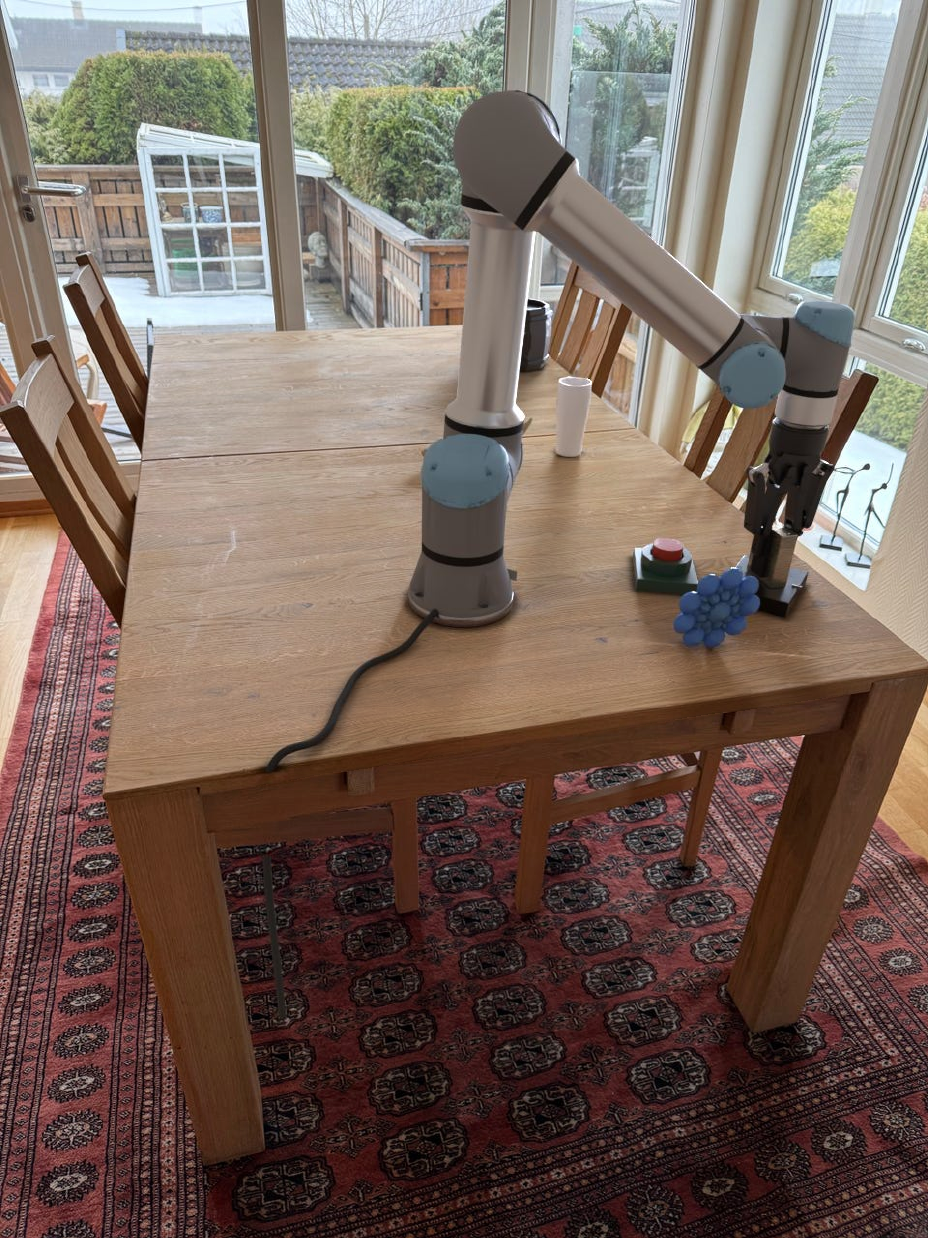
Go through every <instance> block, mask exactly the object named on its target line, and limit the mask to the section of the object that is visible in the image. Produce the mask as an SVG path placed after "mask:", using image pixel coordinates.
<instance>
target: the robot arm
mask: <svg viewBox="0 0 928 1238" xmlns="http://www.w3.org/2000/svg"><path fill="white" fill-rule="evenodd" d="M452 151H453V152H452V153H453V159H454V164H455V168H456V170H457V172H458V175H459V177H460V178H461V180H462V184H461V196H460V198H461V199H460V208H461V209H462V210H463V212H464V213H465V215H466V216H467V217H468V219H469V221H470V228H469V229H470V230H469V243H468V254H467V266H466V267H467V268H466V279H465V290H464V291H465V292H464V303H463V304H464V305H463V315H462V329H461V339H460V351H459V352H460V353H459V363H458V365H459V366H458V377H457V387H456V388H457V389H456V397H455V399H454V400H453V401H451V402H450V403H449V404H448V405H447V406H446V407H445V410H444V421H443V434H442V438H439V439H438V440H436V441H434V442H432V444H430V446H429V447H427V448H428V449H427V448H426V449H427V451H426V453H425V455H424V456H423V460H422V466H421V469H420V478H421V479H420V481H421V550H420V551H421V552H420V555H419V558H418V560H417V563H416V566H415V569H414V571H413V574H412V577H411V579H410V582H409V586H408V601H407V602H408V605H409V607H410V609H411V610H412V611H413V612H414V613H415V614H416V615H417V616H419V617H421V618H422V619H423V620H422V621H421V622H420V623H419V624H418V626H417V627H416V628H415V629H414V630H413V631H412V633H411V634H410V635H409V637H408V638H407V639H406V640H405V641H404V642H403V643H402V644H401V645H399V646H397V647H396V648H394V649H392V650H390V651H388V652H385V653H383V654H381V655H378V656H375V657H373V658H371V659H369V660H367V661H366V662H363V664H361V665H360V666H359V667H358V668H357V669H356V670H355V671H354V672H353V673H352V674H351V675H350V676H349V678H348V680H347V681H346V683H345V685H344V687H343V688H342V691H341V693H340V695H339V696H338V698H337V700H336V701H335V703H334V705H333V707H332V711H331V713H330V716H329V718H328V721H327V722H326V724H325V725H324V727H323V728H322V730H321V731H320V732H319V733H317V734H315V736H313V737H312V738H308V739H306V740H302V741H298V742H294V743H291V744H289V745H286V746H284V747H282V748H280V749H279V750H278V751H277V752H276V753H275V754H274V755H273V756H272V757H271V759H270V760H269V762H268V764H267V765H266V768H265V773H273V772H274V771H275V770H276V768H277V767H278V765H279V764H280V763H281V761H282V760H283V759H284V758H286V757H287V756H288V755H291V754H293V753H296V752H299V751H303V750H307V749H310V748H313V747H315V746H317V745H319V744H321V743H322V742H324V741H325V740H326V739H327V738H328V737H329V736H330V735H331V733H332V732H333V730H334V729H335V727H336V724H337V722H338V719H339V716H340V714H341V711H342V709H343V707H344V705H345V703H346V702H347V700H348V698H349V696H350V695H351V692H352V689H353V688H354V687H355V685H356V683H357V682H358V680H359V679H360V678H361V677H362V676H363V674H365V673H366V672H367V671H368V670H370V669H372V668H374V667H375V666H378V665H379V664H381V663H384V662H387V661H390V660H392V659H394V658H396V657H398V656H400V655H401V654H403V653H404V652H406V651H407V650H408V649H409V648H411V647H412V646H413V645H414V643H415V642H416V641H417V640H418V638H419V637H420V635H422V634H423V632H424V631H425V630H426V628H428V626H429V625H430V624H431V623H434V624H438V625H442V626H446V627H453V628H454V627H455V628H473V627H481V626H486V625H489V624H493V623H495V622H497V621H500V620H501V619H503V618H504V617H506V616H507V615H508V614H509V613H510V612H511V610H512V609H513V604H514V589H513V584H512V581H513V582H518V581H517V580H518V571H516V570H513V569H510V568H508V567H507V564H506V559H505V557H504V550H505V549H504V548H505V534H506V533H505V532H506V519H507V507H508V502H509V499H510V496H511V493H512V491H513V487H514V484H515V481H516V478H517V476H518V474H519V471H520V470H521V467H522V465H523V460H524V459H523V458H524V448H523V442H522V441H523V435H522V433H523V425H524V423H525V414H524V413H523V411H522V410H521V409H520V407H519V406H518V405H517V403H516V402H517V394H518V385H519V377H520V371H519V369H520V360H521V352H522V343H523V335H524V326H525V317H526V309H527V300H528V298H529V290H530V280H531V273H532V266H533V255H534V248H535V238H536V233H539V234H540V235H541V236H542V237H543V238H545V239H546V240H547V241H548V242H549V243H550V244H551V245H552V246H554V247H555V248H556V249H558V250H559V251H560V252H561V253H562V254H564V255H565V257H567V258H568V259H570V261H572V262H573V263H574V264H575V265H576V266H578V267H579V268H580V269H581V270H582V271H583V272H585V273H586V274H587V275H588V276H589V277H591V278H592V279H593V280H594V281H595V282H596V283H598V284H599V285H600V286H601V287H602V288H604V290H606V291H607V292H608V293H610V295H612V296H613V297H615V299H617V300H618V301H619V302H620V303H622V304H623V305H624V306H625V307H626V308H628V310H630V311H631V312H632V313H633V314H634V315H635V316H637V317H638V318H639V319H640V320H641V321H643V323H645V324H646V325H648V327H650V328H651V329H653V330H654V331H655V333H657V334H658V335H660V336H661V337H662V338H663V339H664V340H666V341H667V342H668V343H669V344H670V345H672V346H673V347H674V348H675V349H676V350H677V351H679V352H680V353H681V354H682V355H683V356H684V357H685V358H687V359H688V360H689V361H690V362H691V363H693V364H694V365H695V367H696V368H697V369H698V370H700V371H701V372H702V373H703V374H704V375H705V376H706V377H708V378H709V379H710V380H711V381H712V382H714V383H715V384H716V385H717V386H718V388H719V390H720V392H721V394H722V396H724V397H725V399H726V400H727V401H728V402H730V404H732V405H733V406H735V407H737V408H740V409H744V410H746V409H747V410H755V409H759V408H762V407H765V406H767V405H768V404H770V403H772V402H773V401H774V400H775V399H777V400H776V406H775V409H774V415H775V416H776V417H775V418H774V419H772V423H771V427H770V432H769V437H768V447H769V448H768V453H767V455H766V456H765V457H764V460H763V463H761V464H759V465H758V466H756V467H753V466H748V467H747V468H746V469H745V474H746V478H747V481H748V483H747V492H746V500H745V509H744V519H743V528H744V529H745V530H747V531H748V532H749V533H751V534H752V535H753V537H754V538H753V537H752V542H753V543H752V542H751V547H750V551H751V552H752V553H753V559H752V563H751V568H750V570H751V571H752V572H753V573H755V574H756V575H757V576H758V577H760V578H764V577H765V573H766V569H767V565H768V560H769V556H770V552H771V547H772V543H773V537H772V536H770V532H771V529H772V527H773V524H774V521H775V518H776V517H777V515H778V512H779V509H780V506H781V504H782V500H783V497H784V496H785V495H786V497H785V498H786V500H785V507H784V518H783V525H785V526H786V527H787V528H789V529H790V530H792V531H793V532H794V533H796V534H797V535H798V537H802V535H804V531H803V530H804V529H806V530H809V529H810V528H811V527H812V525H813V523H814V519H815V516H816V514H817V510H818V508H819V505H820V501H821V499H822V497H823V494H824V491H825V488H826V484H827V482H828V480H829V478H830V477H831V476H832V474H833V472H834V471H835V465H833V464H831V463H829V462H827V461H825V460H824V459H822V456H821V454H822V453H823V452H824V451H825V448H826V444H827V441H828V436H829V432H830V427H829V424H831V423H832V421H833V417H834V414H835V413H834V412H835V408H836V404H837V400H838V397H839V396H838V395H839V389H840V386H841V382H842V378H843V374H844V370H845V367H846V362H847V359H848V355H849V352H850V348H851V347H852V339H853V333H854V328H855V322H856V313H855V311H854V309H852V307H850V306H848V305H846V304H843V303H839V302H835V301H827V300H806V301H805V300H804V301H802V302H800V303H799V304H798V305H797V307H796V310H795V312H794V313H793V316H785V317H784V316H769V315H759V314H758V315H757V314H744V313H738V312H737V311H735V310H734V309H733V307H731V306H730V305H729V304H727V303H726V302H725V301H724V300H723V299H722V298H721V297H720V296H719V295H717V294H716V293H715V292H714V291H713V290H712V289H710V288H709V287H708V286H707V285H706V284H705V283H704V282H703V281H701V280H700V279H699V278H698V277H697V276H696V275H694V274H693V273H692V272H691V270H689V269H688V268H687V267H685V266H684V265H683V264H682V263H681V262H680V261H679V260H677V259H676V258H675V257H674V256H673V255H671V254H670V252H669V251H667V250H666V249H665V248H664V247H663V246H661V245H660V244H659V243H658V242H657V241H656V240H655V239H653V238H652V237H651V236H650V235H649V234H648V233H646V232H645V230H643V228H641V227H639V226H638V224H636V223H635V222H634V221H633V220H632V219H631V218H630V217H628V215H626V214H625V213H624V212H623V211H622V210H620V209H619V207H617V206H616V205H615V204H614V203H612V202H611V201H610V200H609V199H608V198H607V197H605V195H604V194H603V193H601V192H600V191H599V190H598V189H596V188H595V187H594V186H593V184H591V183H590V182H589V181H588V180H586V179H585V178H584V177H583V176H582V175H581V174H580V167H579V160H578V159H577V158H576V157H575V156H574V155H572V153H570V152H569V151H568V150H567V149H566V148H565V147H564V145H562V137H561V129H560V126H559V123H558V119H557V118H556V116H555V113H554V111H553V110H551V108H550V107H549V105H548V104H547V103H546V102H545V101H544V100H542V99H541V98H539V97H538V96H537V95H535V94H533V93H531V92H526V91H522V90H519V89H516V90H511V89H510V90H509V89H506V90H502V91H494V92H489V93H486V94H484V95H483V96H480V97H479V98H477V99H476V100H475V101H474V102H472V103H471V104H470V105H469V106H468V107H467V108H466V110H465V111H464V112H463V113H462V115H461V117H460V119H459V120H458V122H457V125H456V127H455V131H454V135H453V143H452ZM767 475H768V476H767ZM776 519H777V518H776ZM272 873H273V871H272V856H269V855H265V854H262V874H263V875H262V876H263V888H264V901H265V909H266V910H265V911H266V918H267V927H268V933H269V943H270V950H271V957H272V965H273V973H274V982H275V988H276V989H275V990H276V999H277V1009H278V1010H277V1011H278V1018H279V1019H281V1020H283V1019H285V1018H286V1017H287V1008H286V1007H287V1006H286V996H285V986H284V977H283V968H282V960H281V952H280V951H281V950H280V944H279V935H278V928H277V927H278V926H277V919H276V907H275V900H274V888H273V874H272Z"/></svg>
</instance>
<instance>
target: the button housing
mask: <svg viewBox="0 0 928 1238" xmlns="http://www.w3.org/2000/svg"><path fill="white" fill-rule="evenodd" d="M652 547H653V543H649V544H647V545H645V546H644V547H633V553H632V565H633V577H634V585H635V591H638V592H651V593H662V594H674V595H684V594H686V593H689V592H692V591H693V592H697V584H698V582H699V581H698V578H697V574H696V569H695V565H694V561H693V560H694V559H693V557H692V552H691V551H689V550H688V549H686V548H685V547H684V548H683V553H682V558H681V560H678V561H663V560H660V559H657V558H655V557H653V556H652Z"/></svg>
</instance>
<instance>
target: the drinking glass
mask: <svg viewBox="0 0 928 1238" xmlns="http://www.w3.org/2000/svg"><path fill="white" fill-rule="evenodd" d="M557 382H558V383H557V388H556V399H555V448H554V451H555V453H556V454H557V455H559V456H561V457H566V458H575V457H578V456H580V455H581V453H582V449H583V441H584V436H585V430H586V426H587V421H588V416H589V410H590V405H591V398H592V397H591V396H592V387H593V386H592V385H593V384H592V381H591V380H590V379H588V378H585V377H580V376H565V377H561V378H559V379H558V381H557Z"/></svg>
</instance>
